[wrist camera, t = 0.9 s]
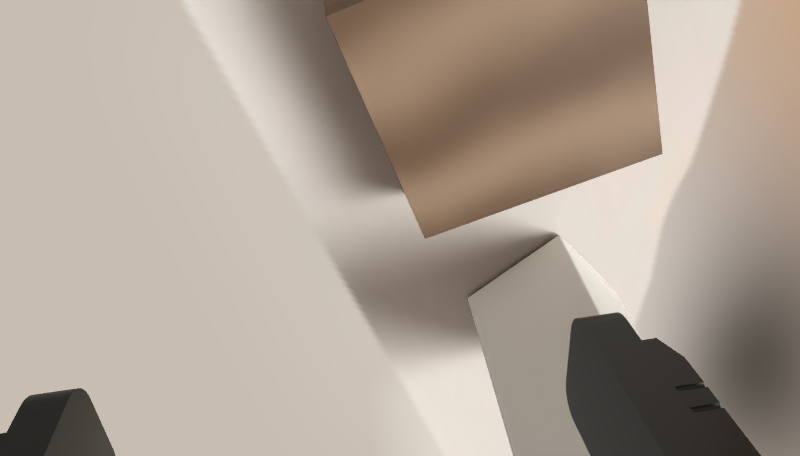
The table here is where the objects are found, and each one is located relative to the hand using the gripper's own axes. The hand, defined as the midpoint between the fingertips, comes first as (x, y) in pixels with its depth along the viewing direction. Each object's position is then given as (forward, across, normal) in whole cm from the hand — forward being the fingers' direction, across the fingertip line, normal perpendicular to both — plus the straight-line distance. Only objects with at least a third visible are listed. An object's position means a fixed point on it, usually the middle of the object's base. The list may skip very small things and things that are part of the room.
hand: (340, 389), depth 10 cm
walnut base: (+21, -8, +1) cm, 23 cm away
